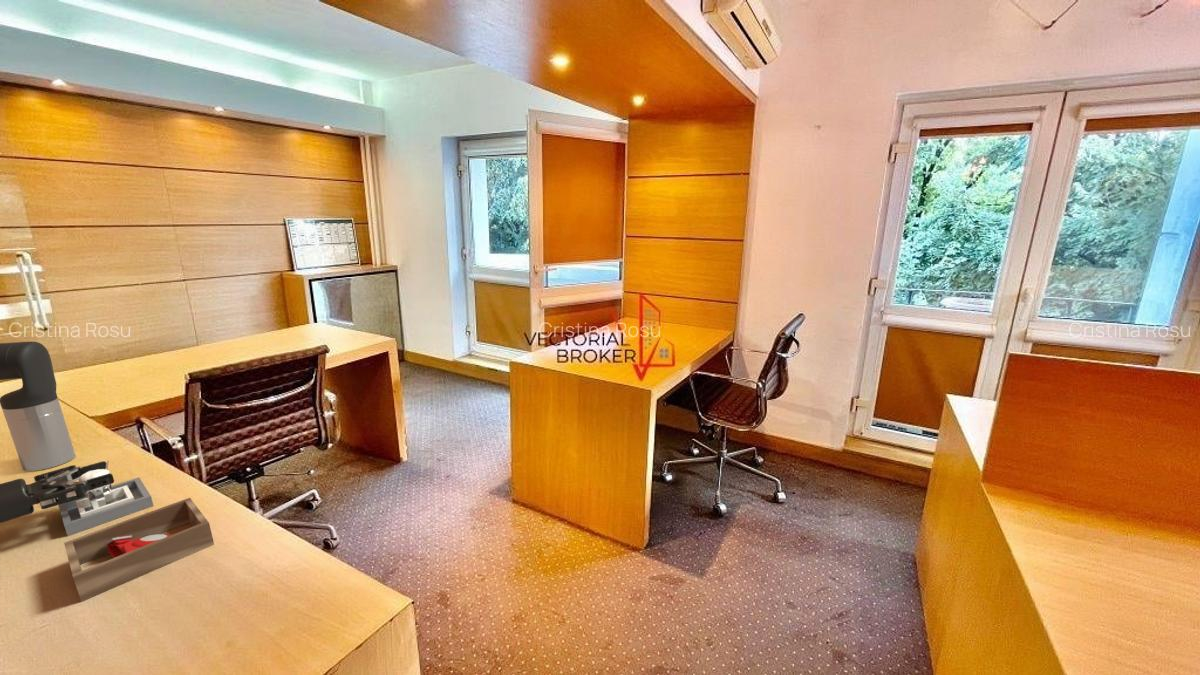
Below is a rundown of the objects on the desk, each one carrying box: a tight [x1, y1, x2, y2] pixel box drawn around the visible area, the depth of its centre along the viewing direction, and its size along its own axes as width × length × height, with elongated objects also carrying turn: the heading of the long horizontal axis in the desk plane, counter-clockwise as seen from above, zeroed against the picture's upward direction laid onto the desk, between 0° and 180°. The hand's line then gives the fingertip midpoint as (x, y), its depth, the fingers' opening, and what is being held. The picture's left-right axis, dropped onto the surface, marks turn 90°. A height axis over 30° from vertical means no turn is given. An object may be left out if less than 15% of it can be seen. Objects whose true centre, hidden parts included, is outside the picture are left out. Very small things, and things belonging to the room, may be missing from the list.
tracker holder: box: [104, 533, 171, 559], centre depth 87 cm, size 12×4×10 cm
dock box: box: [58, 477, 154, 537], centre depth 102 cm, size 13×13×2 cm
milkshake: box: [78, 460, 114, 510], centre depth 101 cm, size 4×5×10 cm
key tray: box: [63, 497, 215, 602], centre depth 88 cm, size 14×18×5 cm
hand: (110, 471), depth 102 cm, fingers open, 8 cm apart
